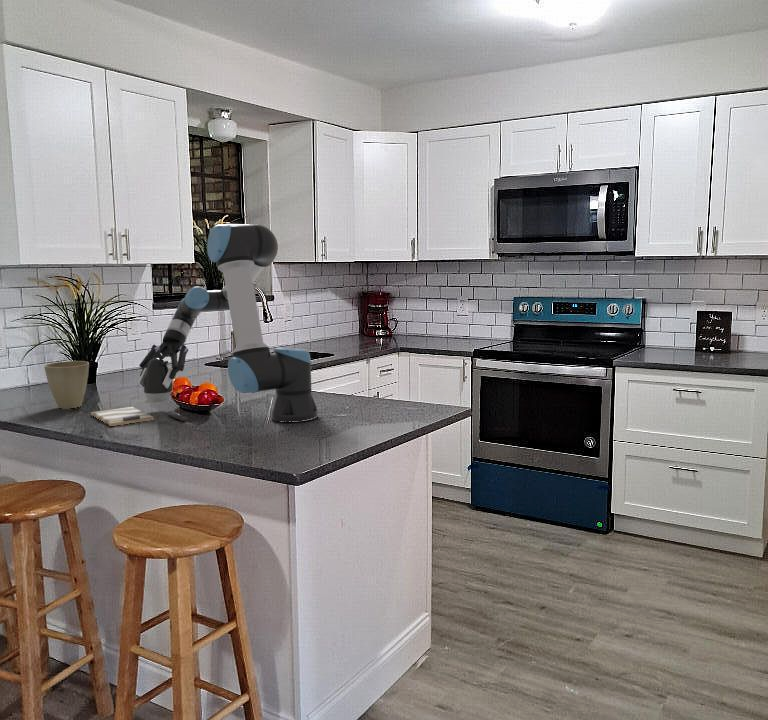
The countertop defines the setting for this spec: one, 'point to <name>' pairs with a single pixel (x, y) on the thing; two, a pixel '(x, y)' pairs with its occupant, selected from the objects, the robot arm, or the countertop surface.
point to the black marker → (177, 416)
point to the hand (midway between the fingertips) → (152, 385)
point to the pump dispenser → (156, 381)
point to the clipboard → (122, 416)
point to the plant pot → (67, 382)
